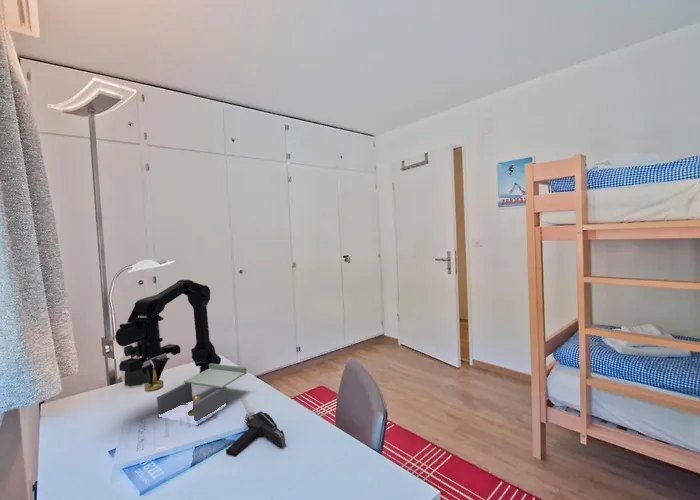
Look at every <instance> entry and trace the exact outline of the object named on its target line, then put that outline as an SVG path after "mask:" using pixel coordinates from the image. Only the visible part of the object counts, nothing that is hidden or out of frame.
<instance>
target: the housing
mask: <svg viewBox="0 0 700 500" xmlns="http://www.w3.org/2000/svg"><path fill="white" fill-rule="evenodd" d="M192 385H193V384H190V383H182V384H180V385H179V386H177V387H175V388H172V389H170V390H168V391H167V392H165V393H163V394H161V395H159V396H157V397H156V402H157V414H160V415H161V414H163V413H165V412H167V411H169V410H172V409H174V408H176V407H178V406H180V405H188V404H186V403H188V402H191V401H193V398H192V397H193V387H192ZM227 397H228V395H227V386H225V387H223V388H217V389H216V390H215V391H213V392H211V393H210V394H208V395H206V396H204V397H203V398H200V400H199V401H198V402H196V403H194V404H193V407H194V420H195V421H198V420H200V419H201V418H203V417H205V416H207V415H208V414H210V413H212V412H214V411H215V410H217V409H218V408H219V407H221V406H222V405H224V404H225V403H227V404H228V398H227Z"/></svg>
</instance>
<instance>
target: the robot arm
mask: <svg viewBox="0 0 700 500" xmlns="http://www.w3.org/2000/svg"><path fill="white" fill-rule="evenodd" d="M182 295H185V296H187V301H188V303H189V305H190V306H191V307H192V310H193V319H194V331H195V342H196V343H195V345H194V347H192V348H191V351H190V352H191V359H192V360H193V361H192V362H193V363H194V364H195V367H199V373H201V372H203V371H205V370H207V369H209V364H211V363H212V364H221V361H222V357H220V356H219V355H218V354H217V353H216V349H215V346H214V345H213V343H212V342H211V340H210V329H209V320H208V318H209V316H208V304H209V303H210V300H211V288H210V287H209V286H208V285H206V284H202V283H198V282H195V281H193V280H191V279H180V280H177V281H176V282H175V283H174V284H172V285H171V286H168V287H167V288H165V289H163V290H162V291H161V292H158V293H157V294H155V295H152V296H151V295H150V296H147V297H143V298H141V299H138V300H137V301H136V302H135V303H134V305H133V308H132V310H131V313H130V314H129V317H128V319H127V321H126V323H120V324H119V328H118V329H117V330H116V333H115V335H114V338H115V342H116V343H117V345H119V346H120V347H124V348H123V350H124V351H123V353H124V356H125V357H129V358H128V359H125V360H122V361H120V363H119V365H118V366H119V368H118V369H119V372H124V373H125V372H134V371H137V370H139V369H140V370H141V371H142V372H143V374H144V376H145V378H146V379H147V381H148V383H149V384H152V380H153V368H156V370H157V381H158V380H161V379H160V378H161V375H162V374H163V372H164V371H163V370H165V369H164V368H165V367H166V365H167V363H168V361H170V357H168V356H167V355H168V354H170V355H172V356H177V355H179V354H181V347H180V345H179V344H172V343H168V344H166V345H163V346H161V342H163V341H164V339H163V337H161V336H160V334H161V333H160V324H159V322H160V321H163V320H164V317H162V316H161V315H160V314H161V313H162V312H163V311H164V310H165V307H166V305H168V304H169V303H172V301H174V300H175V299H176V298H178V297H180V296H182ZM135 342H137V346H135V345H134V346H133V344H135ZM136 356H137V357H140V358H139V359H136ZM150 362H151V363H152V365H151V364H150Z"/></svg>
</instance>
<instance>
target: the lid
mask: <svg viewBox="0 0 700 500" xmlns="http://www.w3.org/2000/svg"><path fill="white" fill-rule="evenodd" d="M247 373H248V371H247V367H244V366H236V365H228V364H221V363H220V364H212V363H211V364H209V369H207V370H205V371H203V372H201V373H200V372H199V373H197V374H196V375H193V376H192V377H189V378H187V379H185V380H184V381H183V382H184V383H190V384H192V385H198V386H203V387H204V386H205V387H210V388H217V389H219V388H223V387H227V386H228V385H230V384H232V383H233V382H235V381H237V380H238V379H239V378H241V377H243V376H245V375H246V374H247ZM184 383H183V384H184Z"/></svg>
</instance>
